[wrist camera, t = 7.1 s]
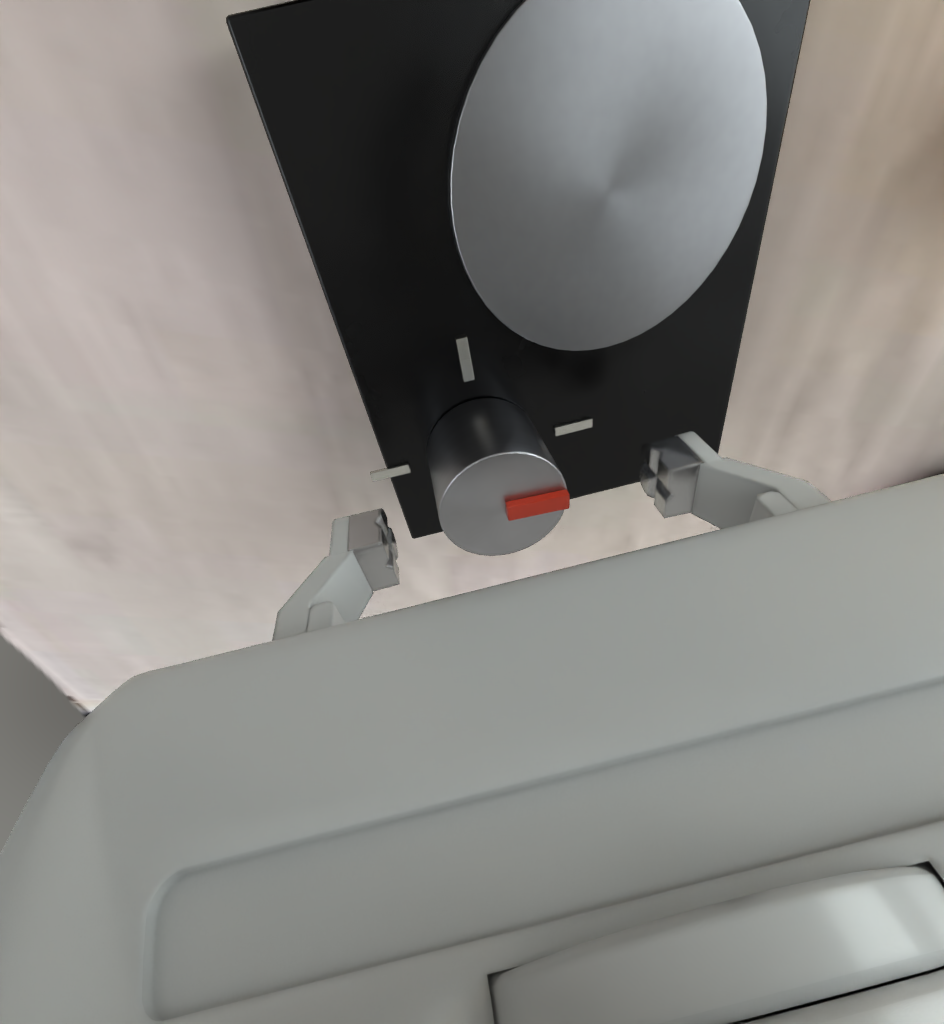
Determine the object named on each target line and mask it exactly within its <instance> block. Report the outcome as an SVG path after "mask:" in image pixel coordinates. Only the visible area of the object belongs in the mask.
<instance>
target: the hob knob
mask: <svg viewBox="0 0 944 1024" xmlns="http://www.w3.org/2000/svg"><path fill="white" fill-rule="evenodd" d="M427 457H428V464H429V469H430V474H431V479H432V484H433V490H434V495H435V500H436V505H437V510H438V515H439V521H440V524H441V527H442V529H443V531H444V533H445V534H446V536H447V537H448V538H449V539H450V540H451V541H452V542H453V543H454V544H455V545H457V546H458V547H460V548H462V549H464V550H466V551H468V552H471V553H475V554H479V555H488V556H495V555H505V554H510V553H514V552H517V551H520V550H523V549H525V548H527V547H529V546H531V545H533V544H535V543H536V542H538V541H539V540H541V539H542V538H543V537H545V536H546V535H547V534H548V533H549V532H550V531H551V530H552V529H553V528H554V527H555V525H556V524H557V523H558V521H559V520H560V518H561V516H562V514H563V512H564V509H568V508H569V498H570V495H569V493H568V491H567V487H566V483H565V480H564V477H563V475H562V473H561V472H560V470H559V468H558V466H557V465H556V463H555V461H554V459H553V458H552V456H551V454H550V453H549V451H548V449H547V447H546V446H545V444H544V442H543V440H542V439H541V437H540V435H539V433H538V432H537V430H536V428H535V426H534V425H533V423H532V421H531V420H530V418H529V417H528V415H527V414H526V413H525V412H524V411H523V410H522V409H521V408H519V407H518V406H516V405H514V404H513V403H510V402H508V401H505V400H501V399H495V398H481V399H475V400H471V401H467V402H465V403H462V404H460V405H458V406H456V407H455V408H453V409H452V410H450V411H449V412H448V413H446V414H445V415H444V416H443V417H442V418H441V419H440V420H439V422H438V423H437V424H436V426H435V427H434V429H433V431H432V433H431V435H430V438H429V441H428V446H427Z"/></svg>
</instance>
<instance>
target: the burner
mask: <svg viewBox="0 0 944 1024" xmlns="http://www.w3.org/2000/svg"><path fill="white" fill-rule="evenodd" d="M766 116H767V96H766V82H765V73H764V68H763V62H762V57H761V52H760V48H759V45H758V42H757V39H756V36H755V33H754V30H753V27H752V25H751V23H750V21H749V19H748V17H747V15H746V13H745V11H744V9H743V7H742V5H741V3H740V1H739V0H523V1H522V2H521V3H520V4H519V5H518V6H517V7H516V8H515V9H514V10H513V11H512V13H511V14H510V15H509V17H508V18H507V19H506V21H505V22H504V23H503V25H502V26H501V27H500V29H499V30H498V31H497V33H496V34H495V35H494V37H493V38H492V40H491V42H490V43H489V45H488V47H487V49H486V50H485V52H484V54H483V55H482V57H481V59H480V61H479V62H478V64H477V67H476V69H475V71H474V74H473V76H472V78H471V80H470V83H469V85H468V87H467V89H466V92H465V95H464V98H463V101H462V105H461V108H460V111H459V114H458V117H457V121H456V126H455V130H454V135H453V140H452V145H451V152H450V163H449V173H448V202H449V210H450V219H451V227H452V231H453V235H454V240H455V244H456V248H457V251H458V254H459V257H460V259H461V262H462V265H463V268H464V270H465V272H466V274H467V276H468V278H469V280H470V282H471V284H472V286H473V288H474V289H475V291H476V292H477V293H478V295H479V296H480V298H481V299H482V301H483V302H484V304H485V305H486V306H487V308H488V309H489V310H490V311H491V312H492V313H493V314H494V315H495V316H496V317H497V318H498V319H499V320H500V321H501V322H502V323H503V324H505V325H506V326H507V327H508V328H509V329H511V330H512V331H514V332H515V333H517V334H519V335H520V336H522V337H524V338H525V339H527V340H530V341H532V342H535V343H537V344H539V345H542V346H546V347H550V348H554V349H560V350H571V351H579V350H593V349H599V348H604V347H609V346H612V345H615V344H618V343H621V342H624V341H627V340H629V339H631V338H633V337H636V336H638V335H640V334H642V333H643V332H645V331H647V330H649V329H650V328H652V327H654V326H655V325H657V324H658V323H660V322H661V321H662V320H664V319H665V318H667V317H668V316H669V315H671V314H672V313H673V312H674V311H675V310H677V309H678V308H679V307H680V306H681V305H682V304H683V303H684V302H686V301H687V300H688V299H689V298H690V296H691V295H692V294H693V293H694V292H695V291H696V290H697V289H698V288H699V287H700V286H701V285H702V283H703V282H704V281H705V280H706V278H707V277H708V276H709V274H710V273H711V272H712V271H713V269H714V268H715V267H716V265H717V264H718V262H719V261H720V259H721V257H722V256H723V254H724V253H725V251H726V250H727V248H728V246H729V245H730V243H731V241H732V239H733V237H734V235H735V233H736V231H737V230H738V228H739V226H740V223H741V221H742V219H743V216H744V214H745V212H746V209H747V207H748V205H749V202H750V199H751V196H752V193H753V189H754V186H755V183H756V180H757V176H758V172H759V168H760V163H761V159H762V155H763V147H764V140H765V133H766Z"/></svg>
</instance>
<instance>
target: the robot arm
mask: <svg viewBox="0 0 944 1024" xmlns="http://www.w3.org/2000/svg"><path fill="white" fill-rule="evenodd" d="M641 457H642V458H643V459H644V462H643V463H642V465H641V466H640V470H639V477H640V482H641V485H642V488H643V490H644V491H645V493H646V494H647V496H650V497H652V498H655V500H654V505H655V506H656V508H657V509H658V510H659V512H660V513H661V514H662V516H663V517H664V518H668V517H672V516H677V515H681V514H686V513H690V512H692V514H693V515H695V516H697V517H699V518H701V519H703V520H705V521H707V522H709V523H711V524H713V525H715V526H716V527H718V528H720V530H716V531H712V532H708V533H704V534H700V535H696V536H692V537H688V538H684V539H680V540H676V541H672V542H668V543H664V544H660V545H656V546H652V547H648V548H644V549H640V550H636V551H632V552H628V553H624V554H620V555H616V556H612V557H608V558H604V559H600V560H596V561H592V562H588V563H584V564H580V565H576V566H572V567H568V568H564V569H560V570H556V571H552V572H548V573H544V574H540V575H536V576H532V577H528V578H524V579H520V580H516V581H512V582H508V583H504V584H499V585H495V586H491V587H487V588H483V589H479V590H475V591H471V592H467V593H463V594H459V595H455V596H451V597H447V598H443V599H439V600H435V601H431V602H427V603H423V604H419V605H415V606H411V607H407V608H403V609H399V610H395V611H391V612H387V613H383V614H379V615H375V616H371V617H367V618H363V619H359V618H360V616H361V614H362V612H363V610H364V609H365V607H366V605H367V603H368V601H369V600H370V598H371V596H372V594H373V591H376V590H380V589H383V588H387V587H391V586H394V585H398V584H400V581H399V567H398V565H397V562H396V560H397V558H398V550H397V545H396V541H395V537H394V534H393V532H392V529H391V528H389V527H388V525H387V517H386V514H385V512H384V510H383V509H382V508H381V509H376V510H372V511H368V512H363V513H359V514H354V515H351V516H346V517H342V518H338V519H334V521H333V523H332V532H331V543H330V553H329V556H327V557H324V559H323V560H322V561H321V562H320V563H319V565H318V566H317V567H316V568H315V569H314V570H313V572H312V573H311V574H310V575H309V576H308V577H307V579H306V580H305V581H304V582H303V583H302V584H301V586H300V587H299V588H298V589H297V590H296V592H295V593H294V594H293V595H292V596H291V597H290V599H289V600H288V601H287V602H286V603H285V604H284V606H283V607H282V608H281V609H280V610H279V611H278V613H277V618H276V624H275V629H274V634H273V639H272V641H270V642H266V643H262V644H258V645H254V646H250V647H246V648H242V649H238V650H234V651H230V652H226V653H222V654H218V655H214V656H210V657H206V658H202V659H198V660H194V661H190V662H186V663H182V664H178V665H173V666H169V667H165V668H160V669H156V670H152V671H148V672H145V673H142V674H139V675H136V676H134V677H132V678H130V679H129V680H127V681H126V682H125V683H123V684H122V685H121V686H120V687H119V688H117V689H116V690H115V691H114V692H113V693H111V694H110V695H109V696H108V697H107V698H106V699H105V700H104V701H103V702H102V703H100V704H99V705H98V706H97V707H96V708H95V709H94V710H93V711H92V712H91V713H90V714H89V715H88V716H86V717H85V718H84V719H83V720H82V721H81V722H80V723H79V724H78V725H77V726H76V727H75V728H74V729H73V730H72V731H71V732H70V733H69V734H68V735H67V736H66V737H65V739H64V740H63V742H62V743H61V745H60V746H59V747H58V749H57V750H56V752H55V754H54V755H53V757H52V758H51V760H50V761H49V763H48V765H47V766H46V768H45V770H44V772H43V774H42V776H41V777H40V779H39V781H38V783H37V785H36V787H35V788H34V790H33V792H32V794H31V796H30V798H29V800H28V801H27V803H26V805H25V807H24V809H23V811H22V813H21V815H20V817H19V818H18V820H17V822H16V824H15V826H14V829H13V830H12V832H11V834H10V836H9V838H8V840H7V842H6V844H5V846H4V848H3V850H2V852H1V854H0V1024H944V474H940V475H936V476H932V477H928V478H924V479H920V480H916V481H912V482H908V483H904V484H901V485H897V486H893V487H889V488H885V489H881V490H877V491H873V492H869V493H865V494H861V495H857V496H853V497H849V498H845V499H841V500H837V501H833V502H832V501H831V500H830V499H828V498H827V497H826V496H825V495H824V494H822V493H821V492H820V491H819V490H818V489H816V488H815V487H814V486H813V485H812V484H810V483H809V482H808V481H805V480H802V479H798V478H795V477H791V476H788V475H785V474H781V473H778V472H774V471H771V470H768V469H764V468H761V467H757V466H754V465H751V464H747V463H744V462H740V461H737V460H734V459H730V458H723V459H722V458H721V457H720V456H719V455H718V454H717V453H716V452H715V451H714V450H713V449H712V448H711V447H710V446H708V445H707V444H706V443H705V442H704V441H703V440H702V439H701V438H700V437H699V436H698V435H697V434H696V433H695V432H692V431H690V432H686V433H682V434H679V435H675V436H673V437H669V438H665V439H661V440H657V441H653V442H649V443H645V444H643V445H642V448H641ZM358 619H359V620H358Z"/></svg>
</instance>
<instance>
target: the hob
mask: <svg viewBox="0 0 944 1024" xmlns="http://www.w3.org/2000/svg"><path fill="white" fill-rule="evenodd" d="M522 1H523V0H294V1H289V2H285V3H280V4H276V5H271V6H267V7H262V8H258V9H254V10H249V11H245V12H240V13H236V14H231V15H228V16H227V17H226V23H227V26H228V29H229V31H230V34H231V37H232V40H233V42H234V45H235V48H236V51H237V54H238V56H239V59H240V62H241V65H242V67H243V70H244V73H245V76H246V78H247V81H248V84H249V87H250V90H251V92H252V95H253V98H254V101H255V103H256V106H257V109H258V112H259V115H260V117H261V120H262V123H263V126H264V128H265V131H266V134H267V137H268V140H269V142H270V145H271V148H272V151H273V153H274V156H275V159H276V162H277V164H278V167H279V170H280V173H281V176H282V178H283V181H284V184H285V187H286V189H287V192H288V195H289V198H290V201H291V203H292V206H293V209H294V212H295V214H296V217H297V220H298V223H299V226H300V228H301V231H302V234H303V237H304V239H305V242H306V245H307V248H308V250H309V253H310V256H311V259H312V262H313V264H314V267H315V270H316V273H317V275H318V278H319V281H320V284H321V287H322V289H323V292H324V295H325V298H326V300H327V303H328V306H329V309H330V312H331V314H332V317H333V320H334V323H335V325H336V328H337V331H338V334H339V336H340V339H341V342H342V345H343V348H344V350H345V353H346V356H347V359H348V361H349V364H350V367H351V370H352V373H353V375H354V378H355V381H356V384H357V386H358V389H359V392H360V395H361V398H362V400H363V403H364V406H365V409H366V411H367V414H368V417H369V420H370V422H371V425H372V428H373V431H374V434H375V436H376V439H377V442H378V445H379V447H380V450H381V453H382V456H383V459H384V461H385V464H386V467H387V468H384V469H380V470H376V471H372V472H370V475H371V478H372V480H373V482H375V481H379V480H383V479H387V478H391V481H392V484H393V486H394V489H395V492H396V495H397V497H398V500H399V503H400V506H401V508H402V511H403V514H404V517H405V520H406V522H407V525H408V528H409V531H410V533H411V536H412V538H414V539H415V538H419V537H422V536H426V535H430V534H434V533H438V532H442V531H443V529H442V527H441V524H440V521H439V515H438V510H437V505H436V500H435V495H434V490H433V484H432V479H431V474H430V469H429V464H428V457H427V446H428V441H429V438H430V435H431V433H432V431H433V429H434V427H435V426H436V424H437V423H438V422H439V420H440V419H441V418H442V417H443V416H444V415H445V414H446V413H448V412H449V411H450V410H452V409H453V408H455V407H456V406H458V405H460V404H462V403H465V402H467V401H471V400H475V399H481V398H495V399H501V400H505V401H508V402H510V403H513V404H514V405H516V406H518V407H519V408H521V409H522V410H523V411H524V412H525V413H526V414H527V415H528V417H529V418H530V420H531V421H532V423H533V425H534V426H535V428H536V430H537V432H538V433H539V435H540V437H541V439H542V440H543V442H544V444H545V446H546V447H547V449H548V451H549V453H550V454H551V456H552V458H553V459H554V461H555V463H556V465H557V466H558V468H559V470H560V472H561V473H562V475H563V477H564V480H565V483H566V487H567V491H568V493H569V495H570V498H569V499H573V498H577V497H581V496H584V495H588V494H592V493H596V492H600V491H604V490H608V489H612V488H616V487H620V486H624V485H628V484H632V483H636V482H640V477H639V470H640V466H641V465H642V463H643V462H644V459H643V458H642V457H641V448H642V445H643V444H645V443H649V442H653V441H657V440H661V439H665V438H669V437H673V436H675V435H679V434H682V433H686V432H690V431H692V432H695V433H696V434H697V435H698V436H699V437H700V438H701V439H702V440H703V441H704V442H705V443H706V444H707V445H708V446H710V447H711V448H712V449H713V450H714V451H715V452H716V453H717V454H718V451H719V446H720V441H721V436H722V431H723V426H724V422H725V417H726V412H727V407H728V402H729V397H730V392H731V387H732V382H733V377H734V372H735V368H736V363H737V358H738V353H739V348H740V343H741V338H742V333H743V328H744V323H745V319H746V314H747V309H748V304H749V299H750V294H751V289H752V284H753V279H754V274H755V269H756V265H757V260H758V255H759V250H760V245H761V240H762V235H763V230H764V225H765V220H766V216H767V211H768V206H769V201H770V196H771V191H772V186H773V181H774V176H775V171H776V167H777V162H778V157H779V152H780V147H781V142H782V137H783V132H784V127H785V122H786V117H787V113H788V108H789V103H790V98H791V93H792V88H793V83H794V78H795V73H796V68H797V64H798V59H799V54H800V49H801V44H802V39H803V34H804V29H805V24H806V19H807V14H808V10H809V5H810V0H739V1H740V3H741V5H742V7H743V9H744V11H745V13H746V15H747V17H748V19H749V21H750V23H751V25H752V27H753V30H754V33H755V36H756V39H757V42H758V45H759V48H760V52H761V57H762V62H763V68H764V73H765V82H766V96H767V116H766V133H765V140H764V147H763V155H762V159H761V163H760V168H759V172H758V176H757V180H756V183H755V186H754V189H753V193H752V196H751V199H750V202H749V205H748V207H747V209H746V212H745V214H744V216H743V219H742V221H741V223H740V226H739V228H738V230H737V231H736V233H735V235H734V237H733V239H732V241H731V243H730V245H729V246H728V248H727V250H726V251H725V253H724V254H723V256H722V257H721V259H720V261H719V262H718V264H717V265H716V267H715V268H714V269H713V271H712V272H711V273H710V274H709V276H708V277H707V278H706V280H705V281H704V282H703V283H702V285H701V286H700V287H699V288H698V289H697V290H696V291H695V292H694V293H693V294H692V295H691V296H690V298H689V299H688V300H687V301H686V302H684V303H683V304H682V305H681V306H680V307H679V308H678V309H677V310H675V311H674V312H673V313H672V314H671V315H669V316H668V317H667V318H665V319H664V320H662V321H661V322H660V323H658V324H657V325H655V326H654V327H652V328H650V329H649V330H647V331H645V332H643V333H642V334H640V335H638V336H636V337H633V338H631V339H629V340H627V341H624V342H621V343H618V344H615V345H612V346H609V347H604V348H599V349H593V350H579V351H571V350H560V349H554V348H550V347H546V346H542V345H539V344H537V343H535V342H532V341H530V340H527V339H525V338H524V337H522V336H520V335H519V334H517V333H515V332H514V331H512V330H511V329H509V328H508V327H507V326H506V325H505V324H503V323H502V322H501V321H500V320H499V319H498V318H497V317H496V316H495V315H494V314H493V313H492V312H491V311H490V310H489V309H488V308H487V306H486V305H485V304H484V302H483V301H482V299H481V298H480V296H479V295H478V293H477V292H476V291H475V289H474V288H473V286H472V284H471V282H470V280H469V278H468V276H467V274H466V272H465V270H464V268H463V265H462V262H461V259H460V257H459V254H458V251H457V248H456V244H455V240H454V235H453V231H452V227H451V219H450V210H449V202H448V173H449V163H450V152H451V145H452V140H453V135H454V130H455V126H456V121H457V117H458V114H459V111H460V108H461V105H462V101H463V98H464V95H465V92H466V89H467V87H468V85H469V83H470V80H471V78H472V76H473V74H474V71H475V69H476V67H477V64H478V62H479V61H480V59H481V57H482V55H483V54H484V52H485V50H486V49H487V47H488V45H489V43H490V42H491V40H492V38H493V37H494V35H495V34H496V33H497V31H498V30H499V29H500V27H501V26H502V25H503V23H504V22H505V21H506V19H507V18H508V17H509V15H510V14H511V13H512V11H513V10H514V9H515V8H516V7H517V6H518V5H519V4H520V3H521V2H522Z"/></svg>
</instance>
